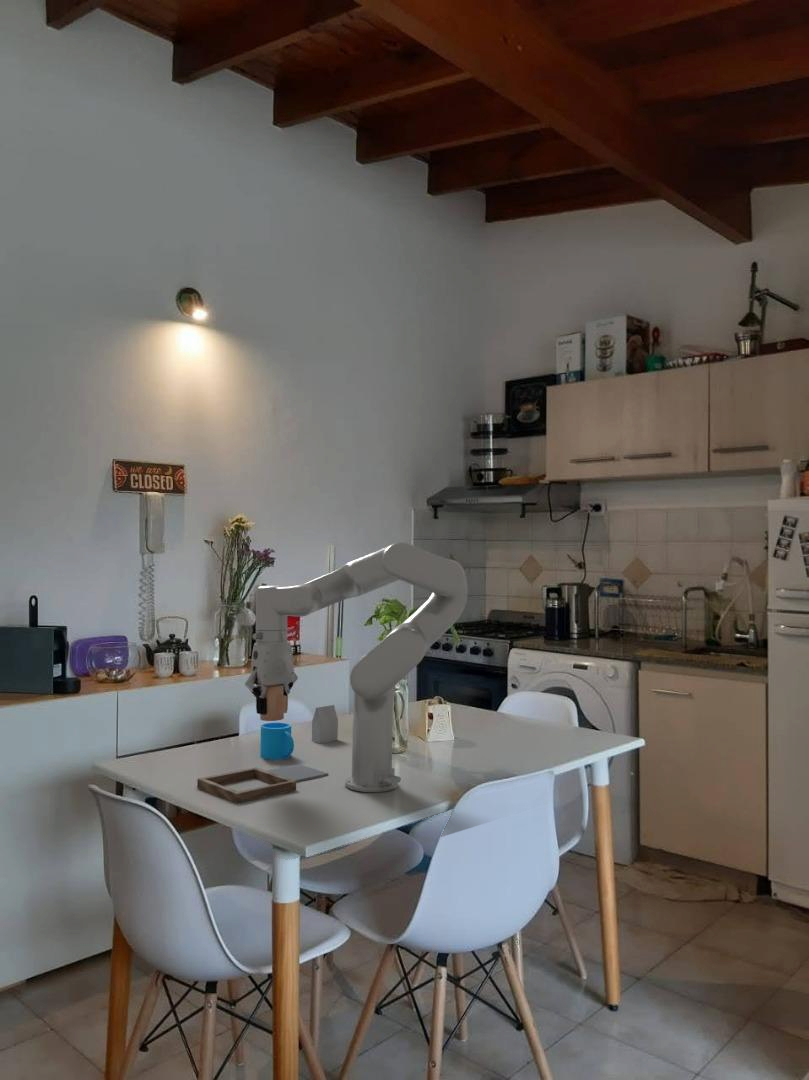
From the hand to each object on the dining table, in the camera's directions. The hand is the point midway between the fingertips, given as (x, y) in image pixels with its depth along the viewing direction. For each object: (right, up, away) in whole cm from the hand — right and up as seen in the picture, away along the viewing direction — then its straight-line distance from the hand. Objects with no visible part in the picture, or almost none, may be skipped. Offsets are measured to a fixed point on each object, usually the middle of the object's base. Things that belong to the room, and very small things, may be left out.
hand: (272, 711), depth 214 cm
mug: (-2, -17, +25) cm, 31 cm away
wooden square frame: (-5, -17, -6) cm, 19 cm away
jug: (+1, -2, -1) cm, 2 cm away
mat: (+4, -17, +7) cm, 19 cm away
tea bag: (+8, -18, +46) cm, 50 cm away
